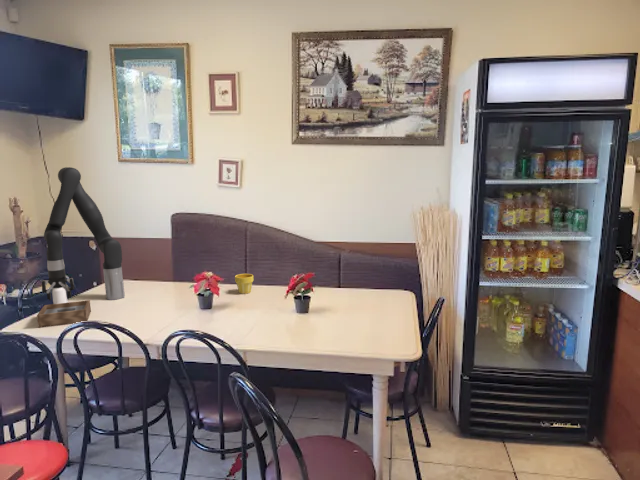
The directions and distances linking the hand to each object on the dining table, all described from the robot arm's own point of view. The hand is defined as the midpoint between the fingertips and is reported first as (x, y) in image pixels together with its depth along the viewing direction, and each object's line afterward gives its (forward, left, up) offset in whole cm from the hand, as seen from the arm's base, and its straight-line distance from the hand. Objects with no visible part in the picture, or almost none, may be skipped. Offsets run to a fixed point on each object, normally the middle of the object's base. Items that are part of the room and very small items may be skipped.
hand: (59, 298), depth 232 cm
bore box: (-5, +19, -5) cm, 20 cm away
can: (0, 0, -6) cm, 6 cm away
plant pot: (-94, +9, -6) cm, 95 cm away
